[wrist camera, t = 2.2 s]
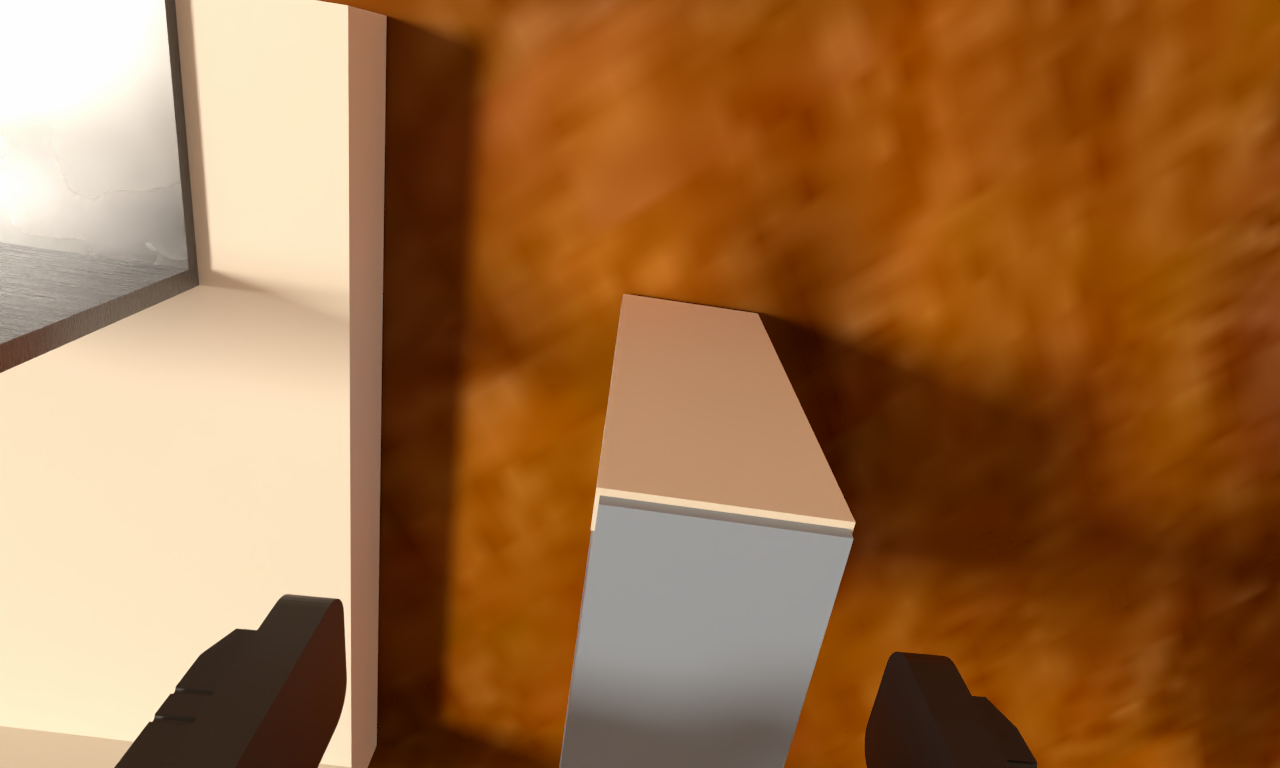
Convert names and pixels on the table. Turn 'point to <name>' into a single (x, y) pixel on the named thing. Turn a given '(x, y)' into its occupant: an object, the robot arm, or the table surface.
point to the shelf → (212, 407)
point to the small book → (702, 551)
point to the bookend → (89, 169)
